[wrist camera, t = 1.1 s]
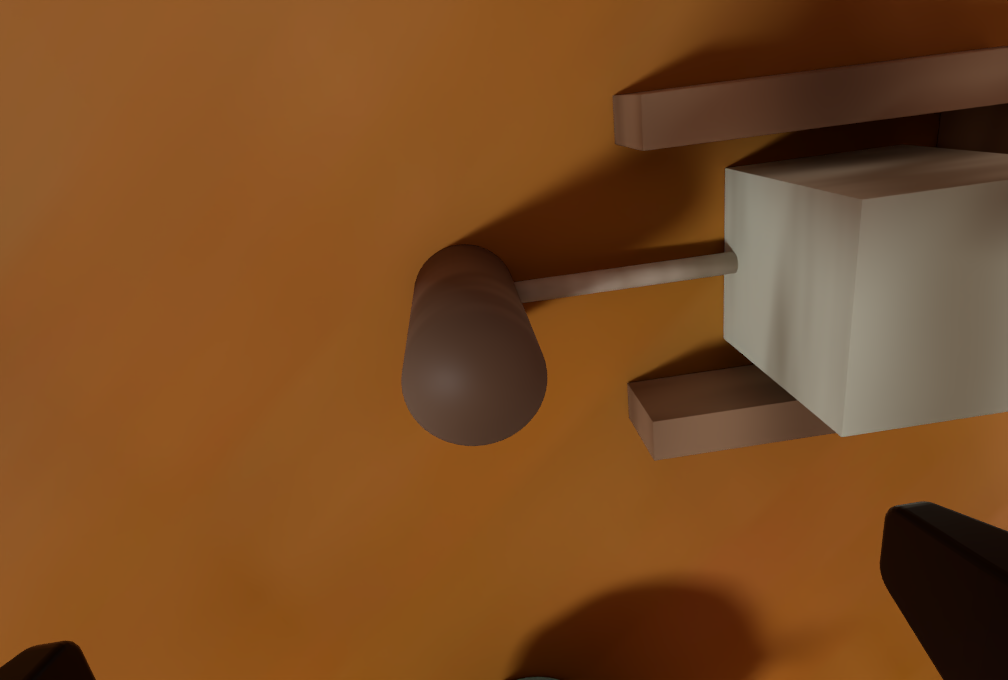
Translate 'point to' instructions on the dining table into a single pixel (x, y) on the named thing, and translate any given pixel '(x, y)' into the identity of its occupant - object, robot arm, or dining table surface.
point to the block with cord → (771, 297)
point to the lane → (777, 109)
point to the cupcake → (538, 678)
